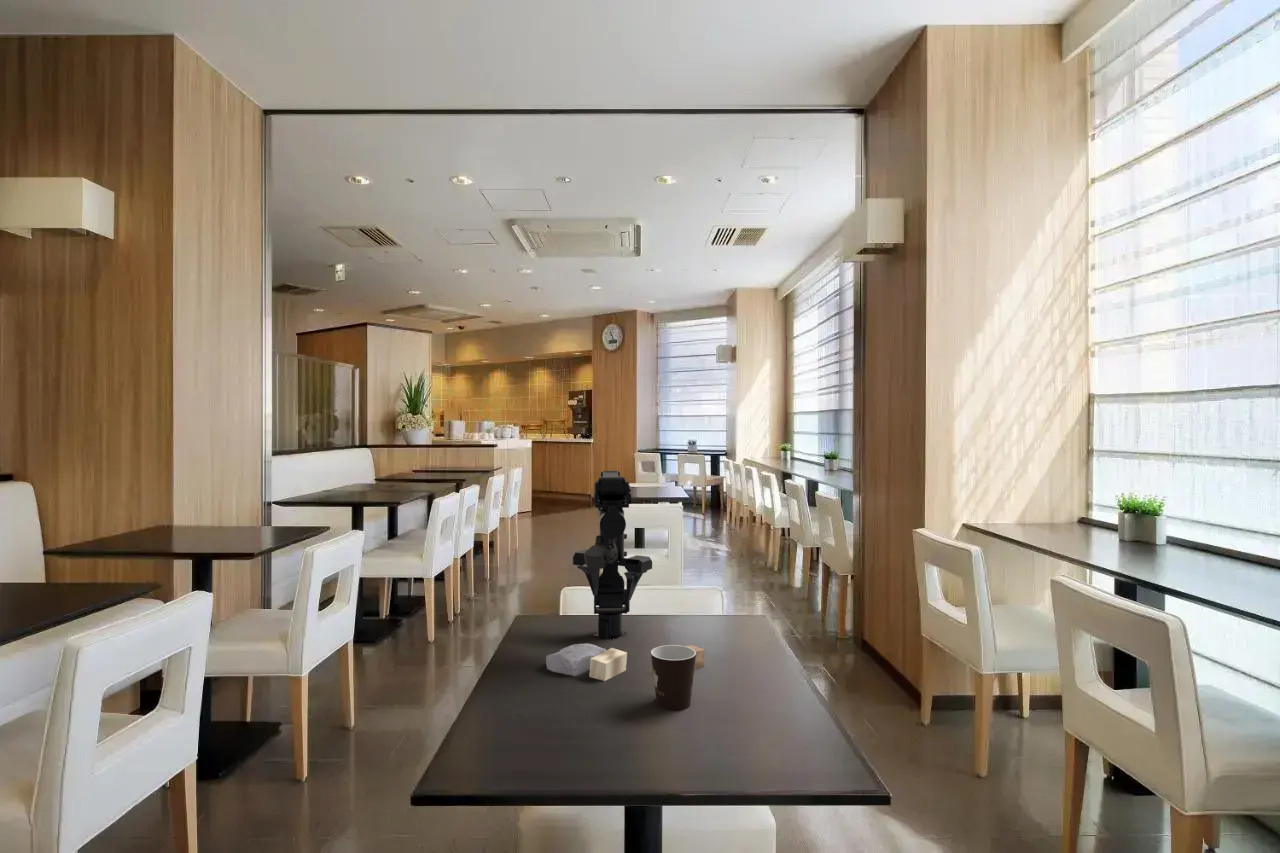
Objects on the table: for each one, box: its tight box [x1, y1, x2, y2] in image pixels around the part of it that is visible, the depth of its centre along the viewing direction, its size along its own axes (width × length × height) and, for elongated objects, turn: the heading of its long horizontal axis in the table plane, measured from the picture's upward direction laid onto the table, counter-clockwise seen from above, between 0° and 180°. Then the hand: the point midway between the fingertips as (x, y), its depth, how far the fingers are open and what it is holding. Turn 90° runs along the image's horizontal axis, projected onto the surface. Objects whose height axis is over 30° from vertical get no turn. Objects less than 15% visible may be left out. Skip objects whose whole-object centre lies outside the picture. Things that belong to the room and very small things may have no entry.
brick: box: [686, 644, 705, 671], centre depth 150 cm, size 8×4×4 cm, turn 134°
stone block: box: [545, 642, 607, 677], centre depth 151 cm, size 12×5×10 cm
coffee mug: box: [650, 644, 696, 712], centre depth 132 cm, size 12×9×10 cm
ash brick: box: [588, 647, 628, 682], centre depth 147 cm, size 8×4×4 cm
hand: (611, 597), depth 160 cm, fingers open, 9 cm apart
